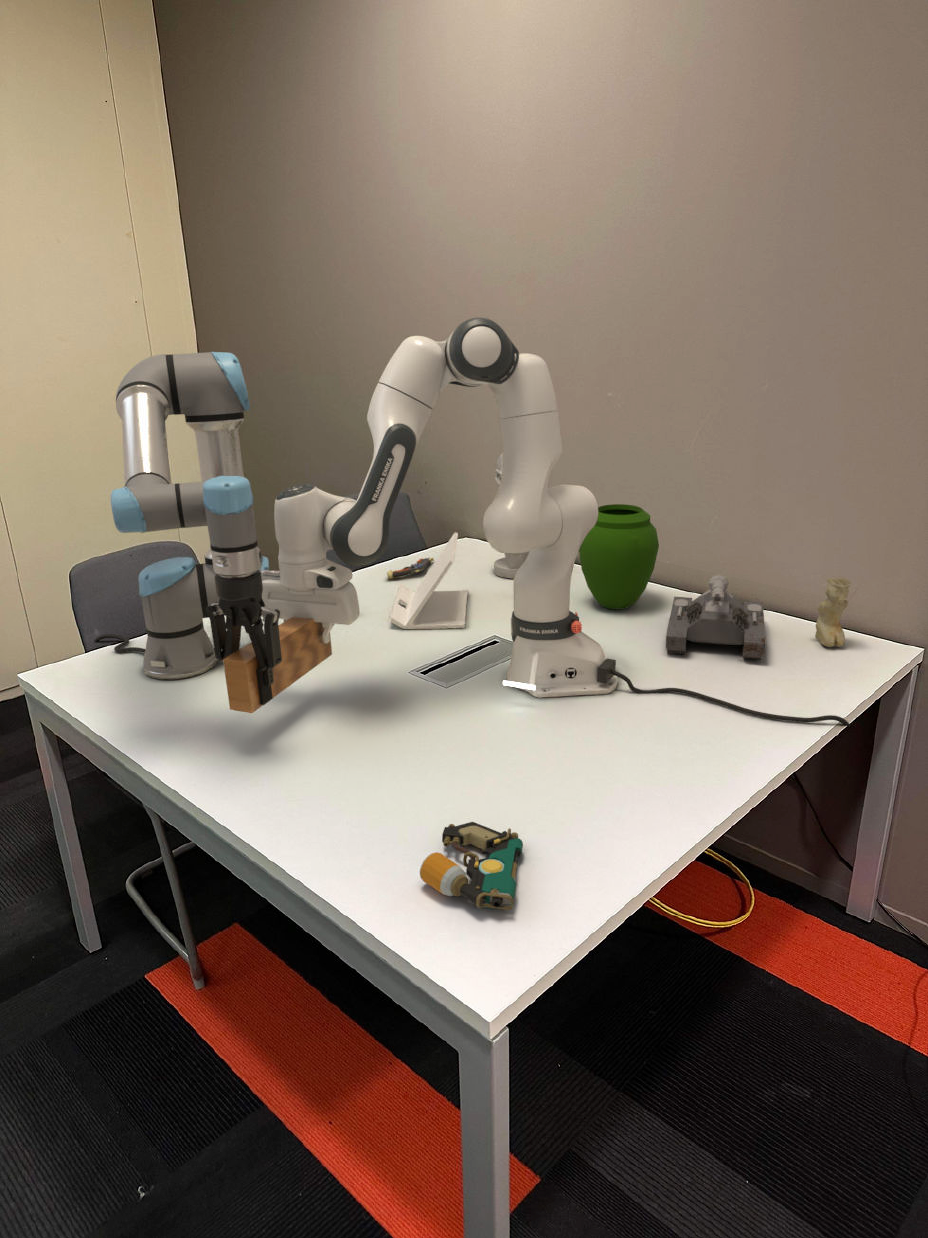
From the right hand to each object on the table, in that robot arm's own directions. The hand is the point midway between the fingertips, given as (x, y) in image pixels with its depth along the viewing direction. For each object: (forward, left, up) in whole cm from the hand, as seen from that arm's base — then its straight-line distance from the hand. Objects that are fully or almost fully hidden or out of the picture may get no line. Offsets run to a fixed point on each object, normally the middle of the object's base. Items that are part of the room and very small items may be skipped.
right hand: (310, 641), depth 165 cm
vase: (-61, -57, -12) cm, 84 cm away
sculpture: (-106, -34, -12) cm, 112 cm away
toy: (-82, -35, -12) cm, 90 cm away
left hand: (+5, +19, -3) cm, 20 cm away
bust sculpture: (-37, -81, -12) cm, 89 cm away
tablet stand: (-15, -51, -12) cm, 54 cm away
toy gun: (-4, -83, -12) cm, 84 cm away
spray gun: (-38, +52, -12) cm, 65 cm away
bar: (+3, +10, -4) cm, 11 cm away
